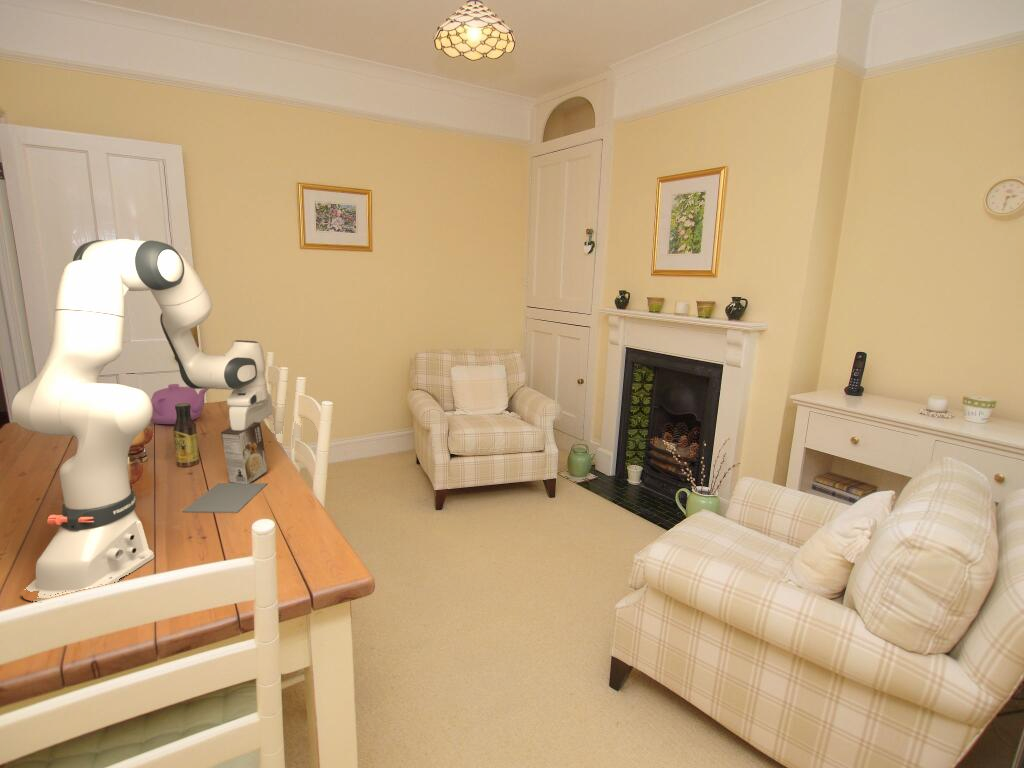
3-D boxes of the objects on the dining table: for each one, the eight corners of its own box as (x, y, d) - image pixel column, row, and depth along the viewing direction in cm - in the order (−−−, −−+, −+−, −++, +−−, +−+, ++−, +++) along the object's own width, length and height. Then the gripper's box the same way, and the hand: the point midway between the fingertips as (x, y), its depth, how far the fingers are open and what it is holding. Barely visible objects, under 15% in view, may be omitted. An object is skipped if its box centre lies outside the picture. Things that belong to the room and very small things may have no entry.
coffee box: (249, 468, 161) (242, 420, 156) (268, 470, 160) (261, 421, 155) (228, 482, 153) (220, 431, 148) (248, 484, 151) (240, 433, 147)
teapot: (135, 429, 199) (129, 391, 196) (172, 414, 220) (168, 379, 217) (193, 431, 198) (188, 392, 195) (225, 416, 219) (221, 380, 216)
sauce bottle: (172, 465, 165) (164, 404, 161) (192, 459, 171) (185, 400, 166) (184, 469, 162) (177, 407, 158) (204, 463, 168) (197, 403, 163)
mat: (237, 512, 135) (237, 511, 135) (182, 512, 135) (182, 511, 135) (267, 484, 153) (267, 483, 153) (218, 483, 152) (218, 482, 152)
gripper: (256, 385, 167) (259, 426, 170) (223, 401, 147) (228, 448, 150) (276, 385, 167) (279, 427, 170) (246, 402, 147) (250, 448, 150)
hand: (255, 437), depth 160 cm, fingers closed
